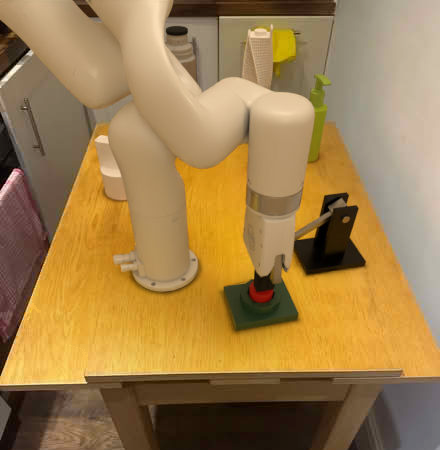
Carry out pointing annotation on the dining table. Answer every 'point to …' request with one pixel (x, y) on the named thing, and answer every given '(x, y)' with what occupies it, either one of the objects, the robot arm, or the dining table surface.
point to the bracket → (331, 241)
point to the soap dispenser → (318, 114)
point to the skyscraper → (259, 57)
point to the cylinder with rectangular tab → (109, 170)
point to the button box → (259, 306)
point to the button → (260, 294)
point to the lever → (319, 220)
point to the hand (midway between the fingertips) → (263, 287)
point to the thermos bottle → (181, 48)
